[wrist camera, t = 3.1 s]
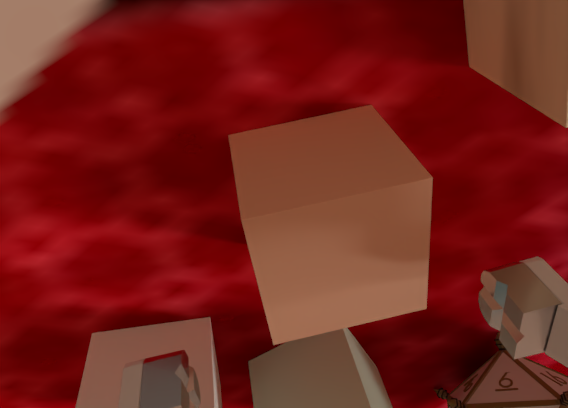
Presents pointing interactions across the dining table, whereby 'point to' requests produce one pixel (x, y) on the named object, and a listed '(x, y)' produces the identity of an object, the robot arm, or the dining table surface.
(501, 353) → the game die
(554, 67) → the block oak
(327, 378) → the block sage
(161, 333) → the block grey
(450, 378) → the dining table surface
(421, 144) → the dining table surface
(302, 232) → the block terracotta
